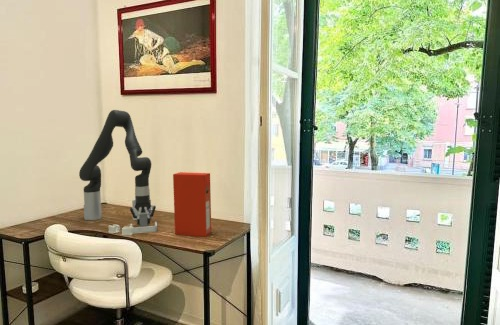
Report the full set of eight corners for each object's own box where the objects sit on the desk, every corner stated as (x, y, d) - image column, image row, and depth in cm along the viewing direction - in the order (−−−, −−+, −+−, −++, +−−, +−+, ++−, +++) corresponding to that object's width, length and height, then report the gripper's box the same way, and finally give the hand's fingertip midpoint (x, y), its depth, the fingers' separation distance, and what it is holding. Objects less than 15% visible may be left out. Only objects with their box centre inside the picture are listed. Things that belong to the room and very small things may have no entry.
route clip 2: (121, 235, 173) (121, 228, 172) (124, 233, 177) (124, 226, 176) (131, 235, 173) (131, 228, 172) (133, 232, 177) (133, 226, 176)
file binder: (205, 237, 169) (204, 175, 166) (174, 234, 173) (173, 174, 170) (211, 232, 177) (210, 173, 173) (181, 230, 181) (180, 172, 178)
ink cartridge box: (151, 218, 205) (151, 195, 204) (147, 221, 200) (146, 197, 198) (137, 218, 207) (136, 195, 206) (132, 220, 202) (131, 196, 200)
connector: (139, 227, 178) (139, 216, 177) (140, 222, 189) (139, 211, 188) (147, 226, 179) (147, 216, 179) (147, 221, 190) (147, 211, 189)
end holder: (129, 233, 175) (129, 228, 175) (130, 229, 183) (130, 223, 183) (157, 231, 179) (157, 226, 179) (156, 226, 188) (156, 221, 187)
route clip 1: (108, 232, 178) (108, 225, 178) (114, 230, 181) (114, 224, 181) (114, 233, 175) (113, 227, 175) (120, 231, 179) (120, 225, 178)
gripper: (155, 192, 186) (156, 222, 187) (128, 193, 181) (130, 224, 183) (156, 194, 178) (157, 225, 180) (128, 196, 174) (129, 228, 176)
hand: (143, 224), depth 182 cm, fingers closed on connector, 4 cm apart
